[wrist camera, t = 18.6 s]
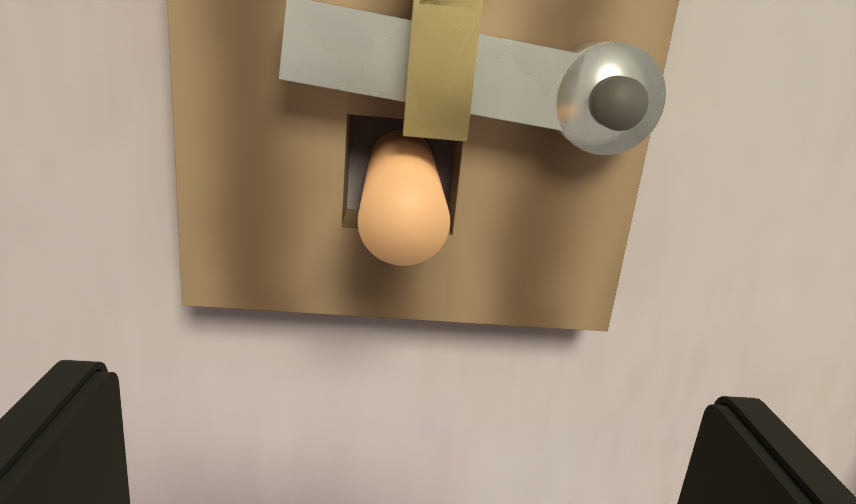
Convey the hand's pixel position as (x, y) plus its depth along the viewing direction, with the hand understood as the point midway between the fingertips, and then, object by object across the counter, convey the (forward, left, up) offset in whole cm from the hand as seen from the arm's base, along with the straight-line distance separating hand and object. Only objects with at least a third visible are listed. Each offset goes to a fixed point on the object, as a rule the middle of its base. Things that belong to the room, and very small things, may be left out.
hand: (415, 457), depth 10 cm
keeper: (-1, -6, -19) cm, 20 cm away
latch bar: (-3, -5, -19) cm, 20 cm away
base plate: (0, -1, -22) cm, 22 cm away
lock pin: (0, 0, -22) cm, 22 cm away
